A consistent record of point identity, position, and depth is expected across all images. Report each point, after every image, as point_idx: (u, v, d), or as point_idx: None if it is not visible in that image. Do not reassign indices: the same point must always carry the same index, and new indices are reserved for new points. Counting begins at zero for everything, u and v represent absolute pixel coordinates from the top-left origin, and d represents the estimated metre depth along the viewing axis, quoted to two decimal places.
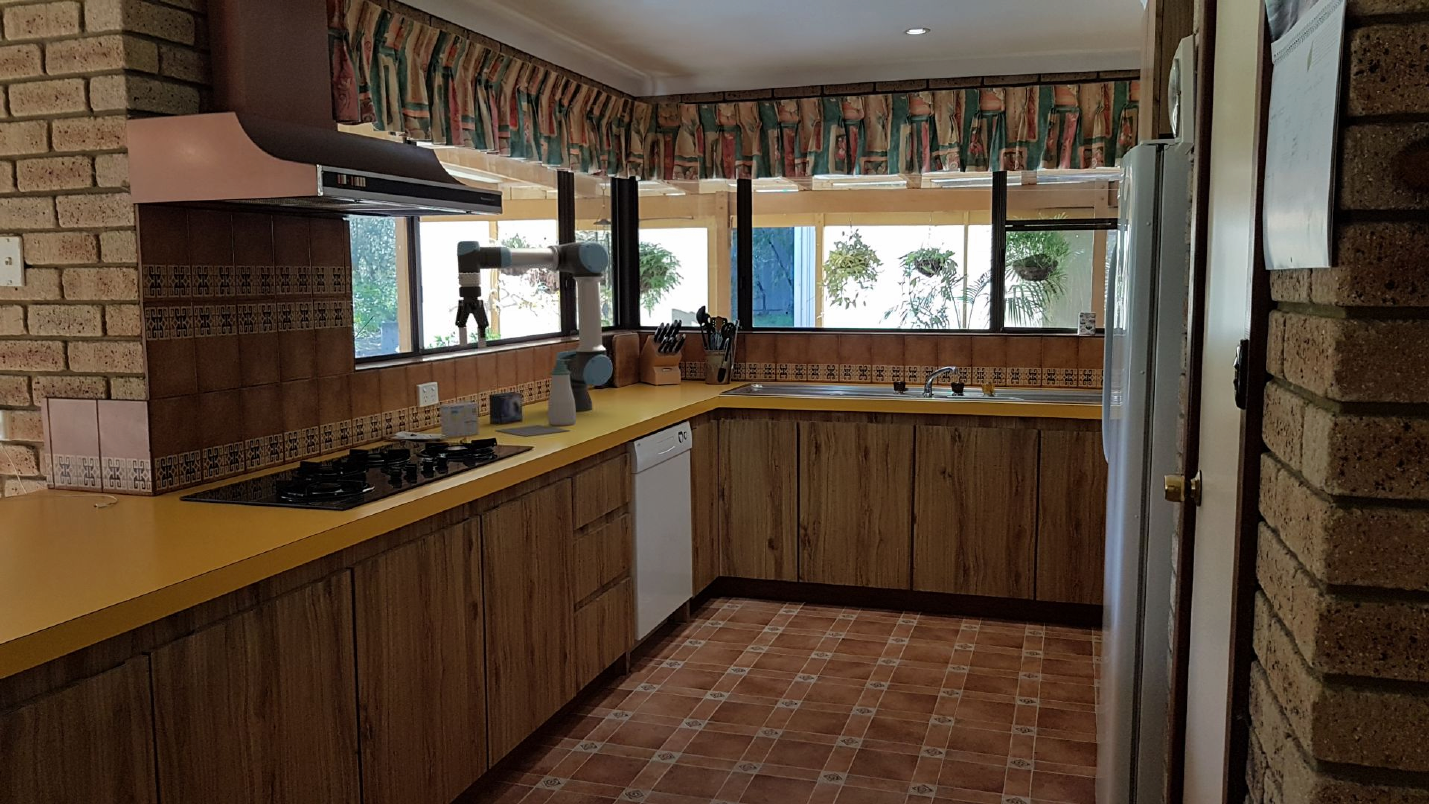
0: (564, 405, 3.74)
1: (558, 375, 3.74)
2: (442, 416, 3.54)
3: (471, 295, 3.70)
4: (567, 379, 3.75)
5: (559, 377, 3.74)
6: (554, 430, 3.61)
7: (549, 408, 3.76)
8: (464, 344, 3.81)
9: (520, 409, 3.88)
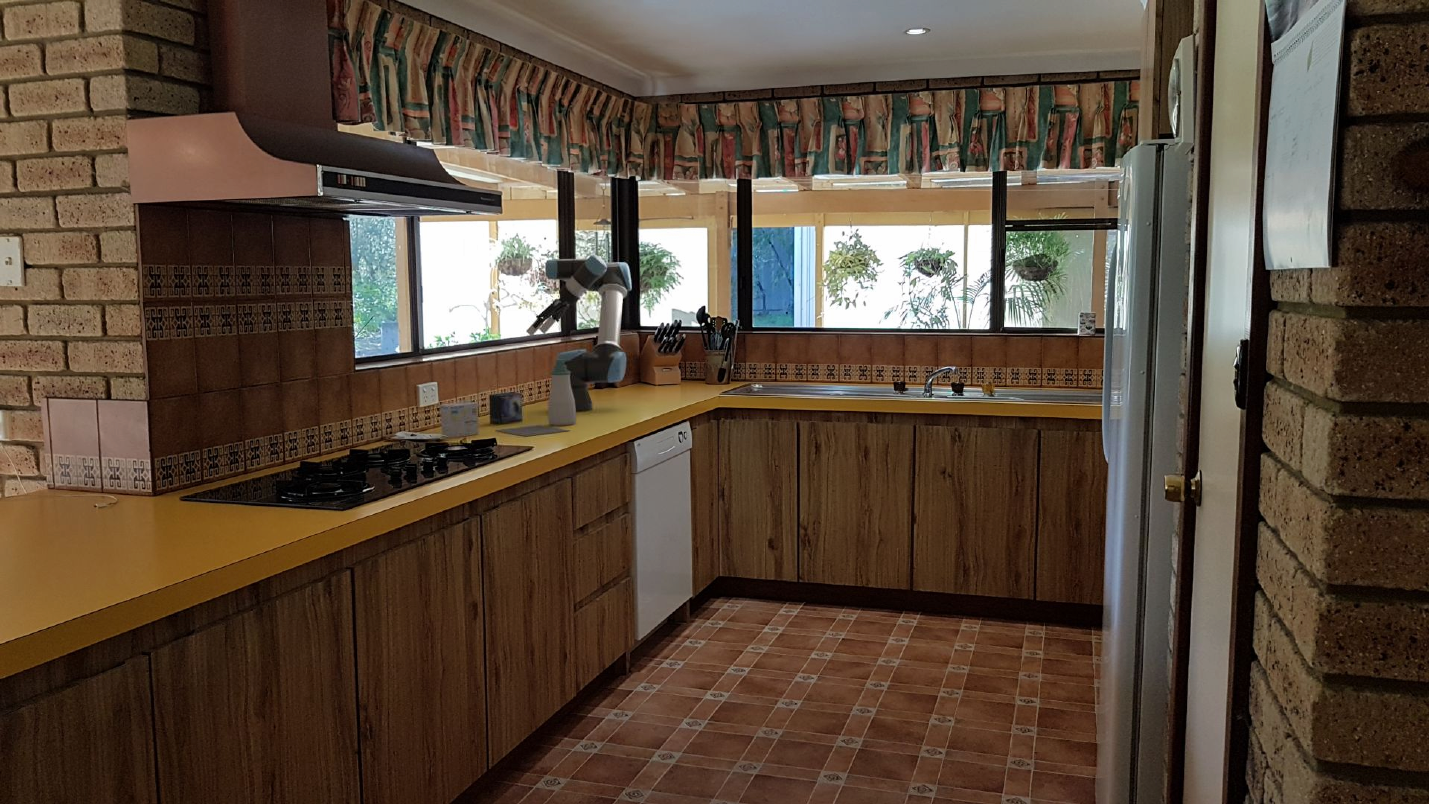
0: (564, 405, 3.74)
1: (558, 375, 3.74)
2: (442, 416, 3.54)
3: None
4: (567, 379, 3.75)
5: (559, 377, 3.74)
6: (554, 430, 3.61)
7: (549, 408, 3.76)
8: None
9: (520, 409, 3.88)
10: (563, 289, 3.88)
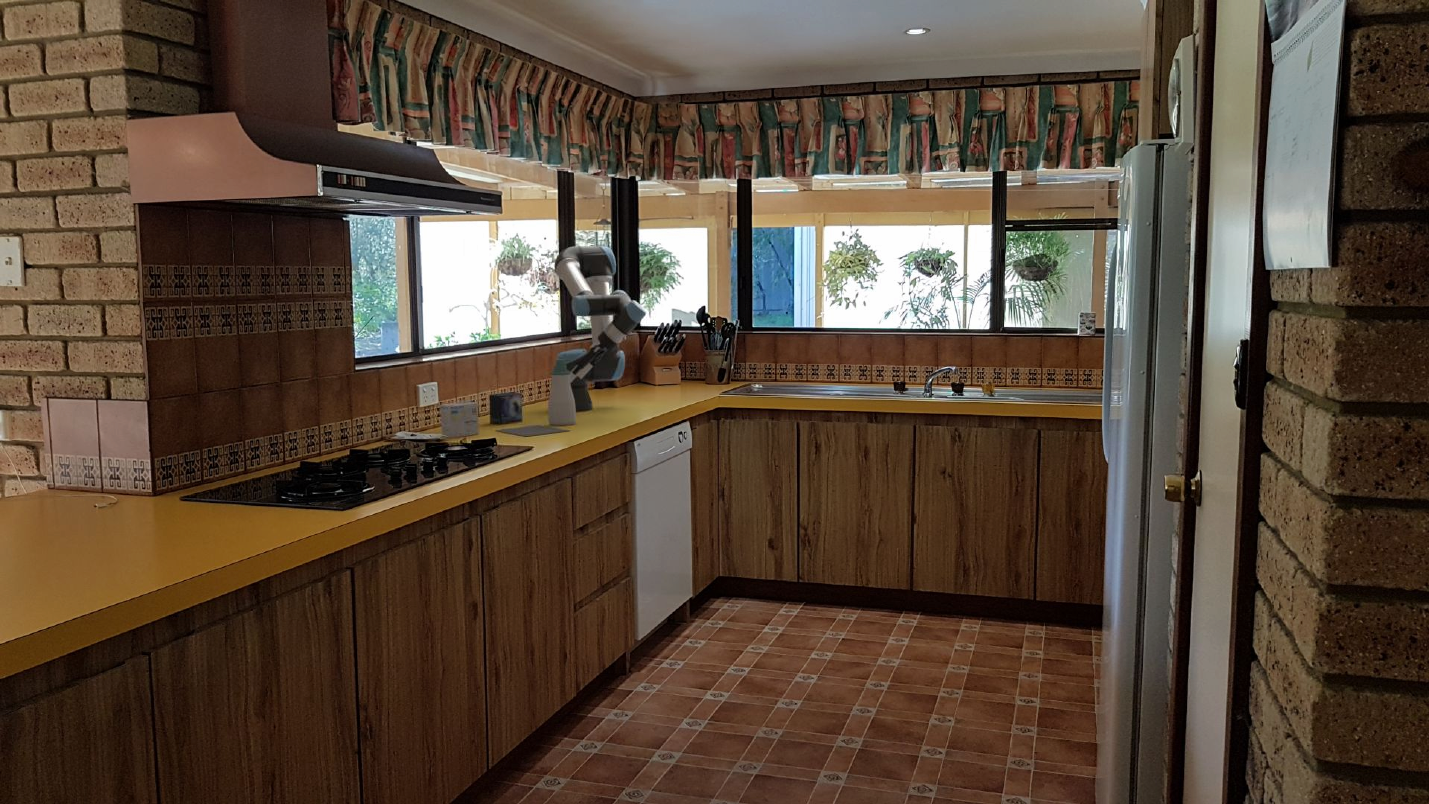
0: (564, 405, 3.74)
1: (558, 375, 3.74)
2: (442, 416, 3.54)
3: None
4: (567, 379, 3.75)
5: (559, 377, 3.74)
6: (554, 430, 3.61)
7: (549, 408, 3.76)
8: None
9: (520, 409, 3.88)
10: (602, 335, 3.89)
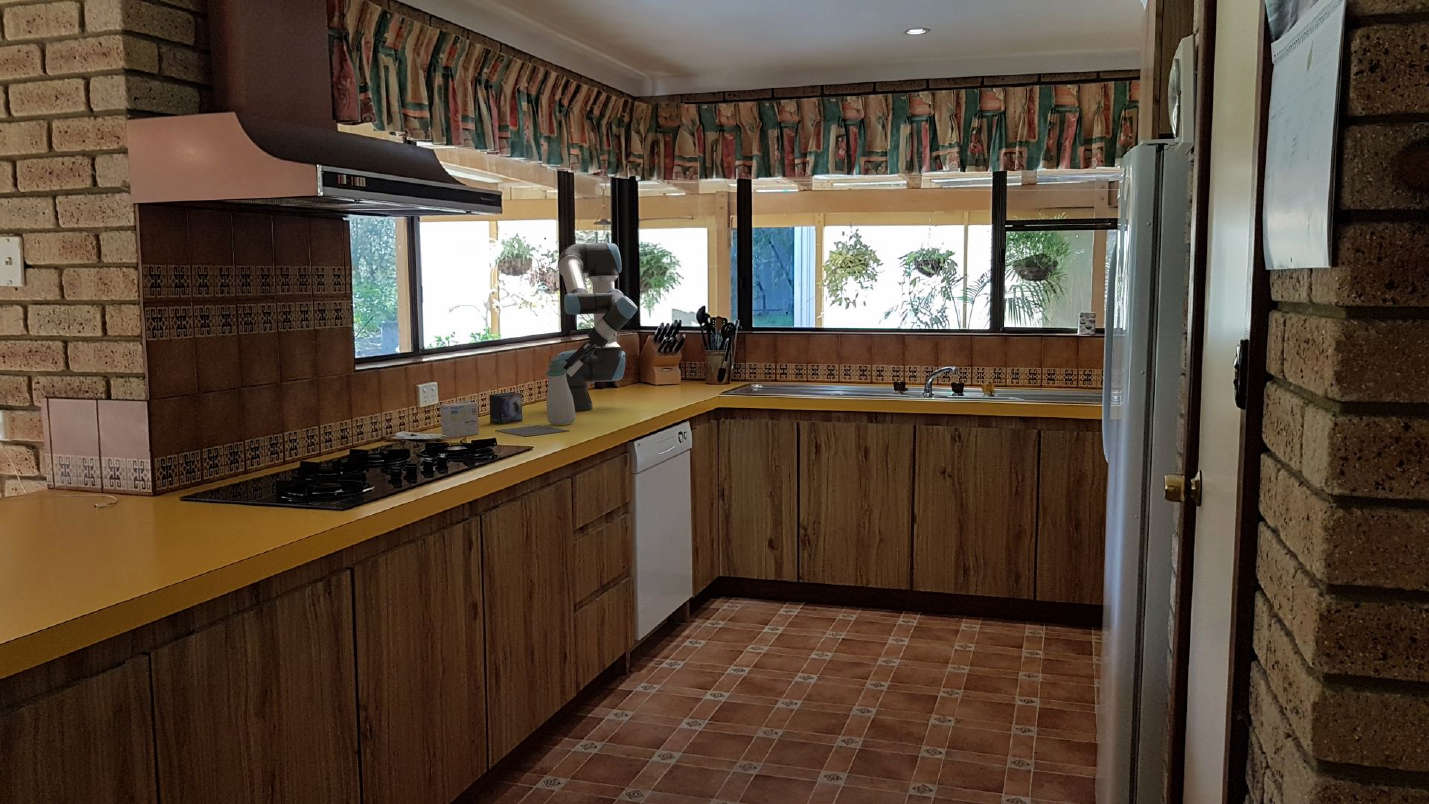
0: (562, 405, 3.72)
1: (554, 376, 3.70)
2: (442, 416, 3.54)
3: None
4: (563, 379, 3.72)
5: (555, 378, 3.71)
6: (554, 430, 3.61)
7: (548, 408, 3.75)
8: None
9: (520, 409, 3.88)
10: (592, 331, 3.79)
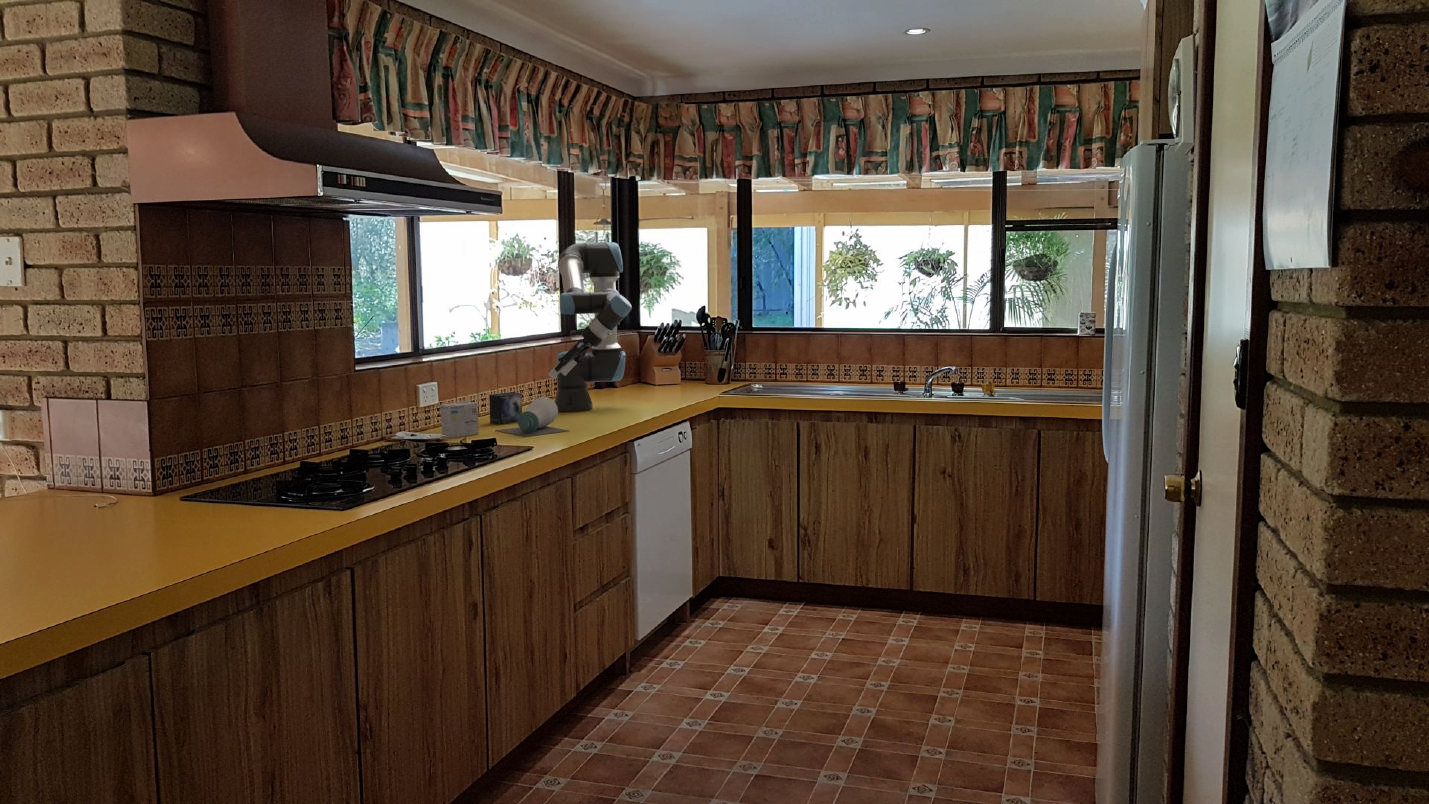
0: (550, 420, 3.67)
1: None
2: (442, 416, 3.54)
3: None
4: (539, 419, 3.58)
5: None
6: (554, 430, 3.61)
7: None
8: None
9: (520, 409, 3.88)
10: (586, 330, 3.73)
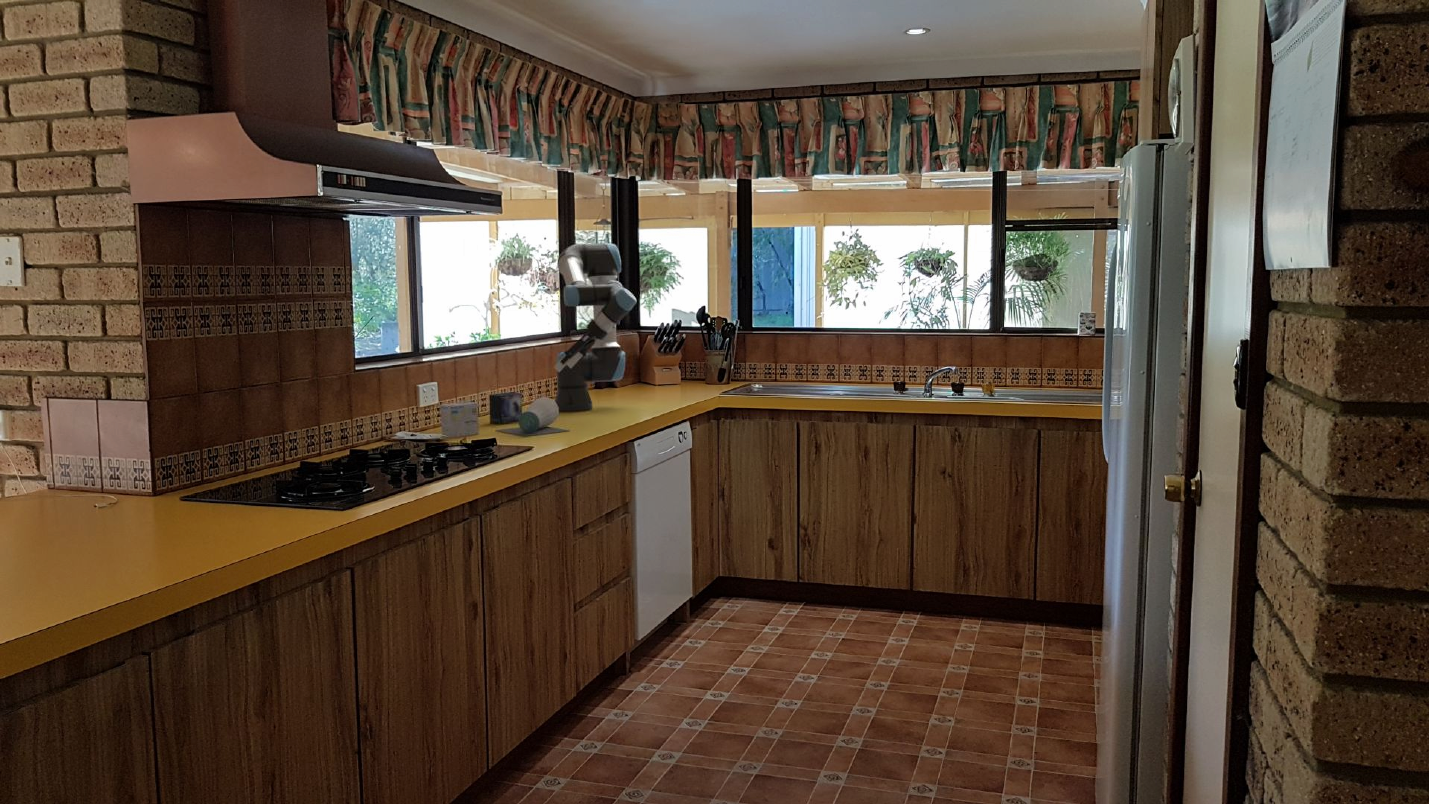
0: (551, 421, 3.67)
1: None
2: (442, 416, 3.54)
3: None
4: (540, 419, 3.58)
5: None
6: (554, 430, 3.61)
7: None
8: None
9: (520, 409, 3.88)
10: (591, 323, 3.78)
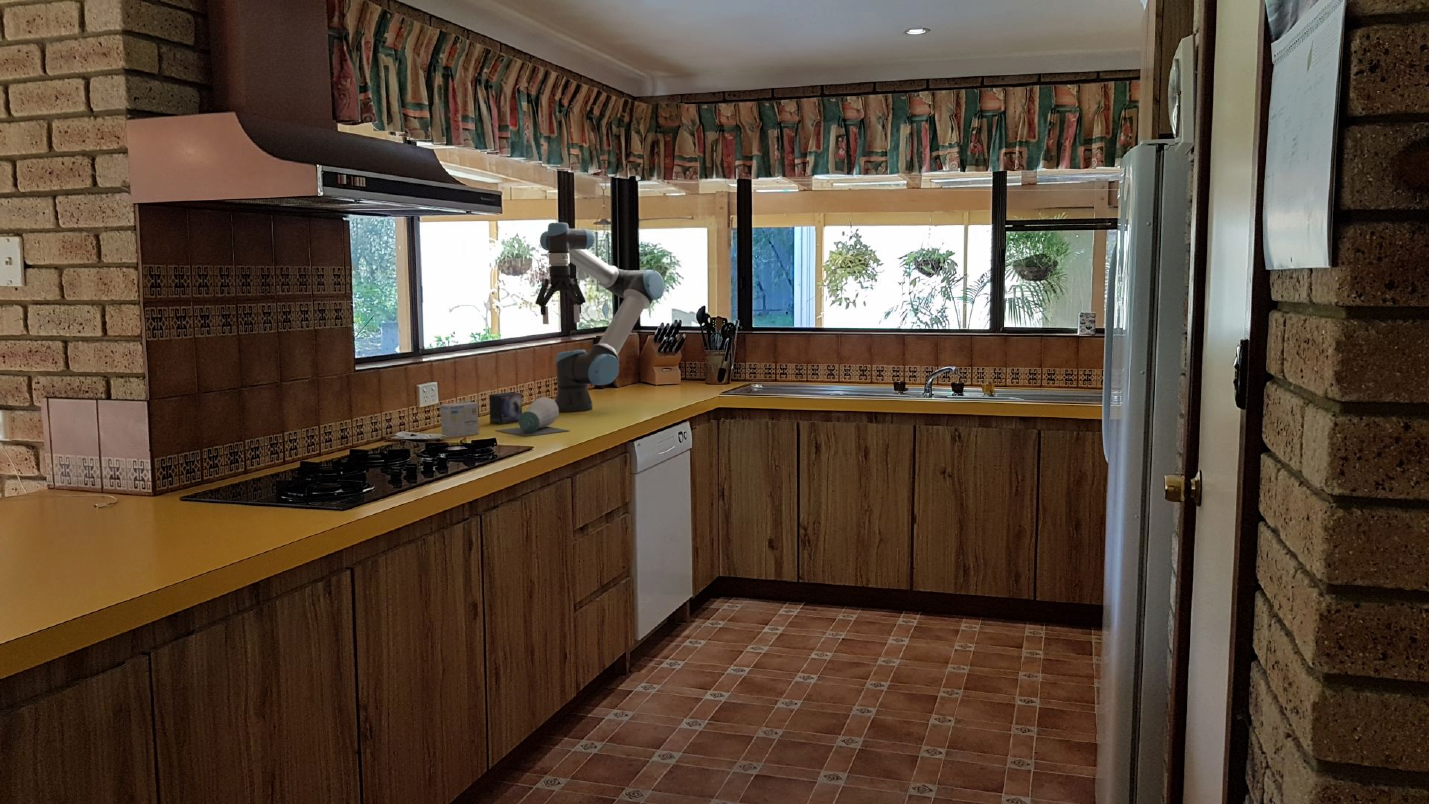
0: (551, 421, 3.67)
1: None
2: (442, 416, 3.54)
3: (569, 274, 3.95)
4: (540, 419, 3.58)
5: None
6: (554, 430, 3.61)
7: None
8: None
9: (520, 409, 3.88)
10: (549, 269, 3.93)
